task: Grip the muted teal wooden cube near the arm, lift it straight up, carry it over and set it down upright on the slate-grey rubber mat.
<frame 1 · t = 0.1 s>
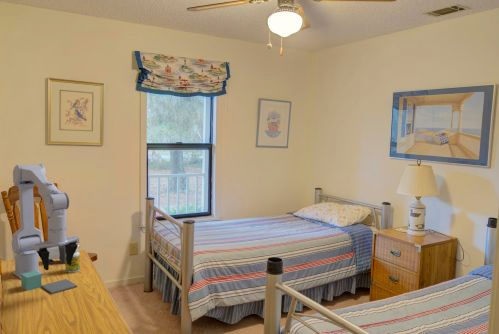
hand: (57, 266, 137), 10 cm above the table, tool pointing down, fingers open, 7 cm apart
giant panda: (60, 262, 171), on the table
supplement bottle: (72, 271, 161), on the table
teal cube: (31, 287, 144), on the table
slate mat: (59, 287, 145), on the table
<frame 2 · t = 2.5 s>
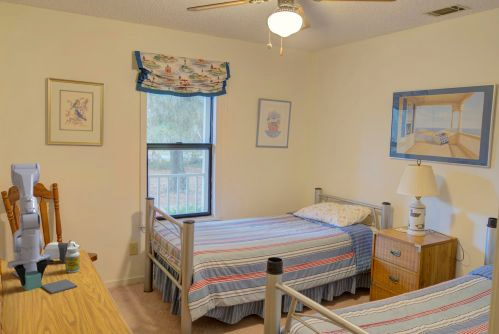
hand: (31, 282, 144), 2 cm above the table, tool pointing down, fingers closed on teal cube, 5 cm apart
teal cube: (31, 287, 144), on the table, touching gripper
everything else where it was.
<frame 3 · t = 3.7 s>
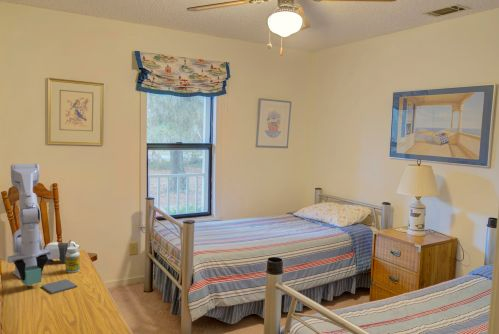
hand: (31, 277, 144), 4 cm above the table, tool pointing down, fingers closed on teal cube, 5 cm apart
teal cube: (31, 281, 144), point 2 cm above the table, touching gripper
everything else where it was.
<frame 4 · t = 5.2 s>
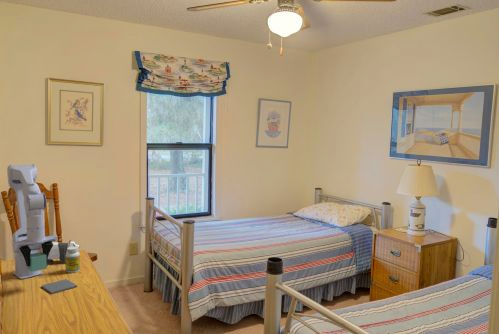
hand: (36, 264, 143), 9 cm above the table, tool pointing down, fingers closed on teal cube, 5 cm apart
teal cube: (36, 268, 143), point 7 cm above the table, touching gripper
everything else where it was.
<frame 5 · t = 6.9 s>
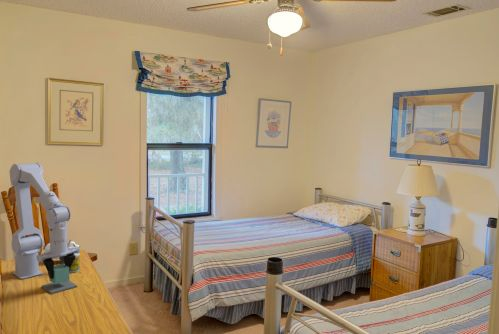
hand: (59, 276, 144), 4 cm above the table, tool pointing down, fingers closed on teal cube, 5 cm apart
teal cube: (59, 280, 144), point 2 cm above the table, touching gripper
everything else where it was.
when the fingers open (3 cm above the table, at t = 8.0 s): teal cube drops 1 cm, resting on slate mat.
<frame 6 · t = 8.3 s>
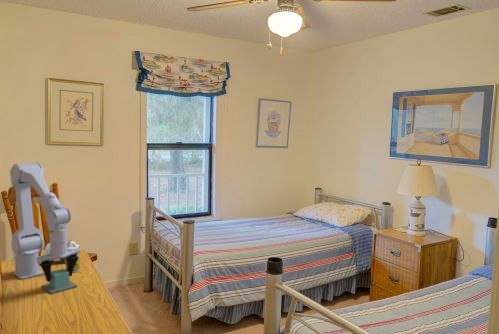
hand: (59, 278, 144), 3 cm above the table, tool pointing down, fingers open, 7 cm apart
teal cube: (59, 285, 145), point 1 cm above the table, touching slate mat
everything else where it was.
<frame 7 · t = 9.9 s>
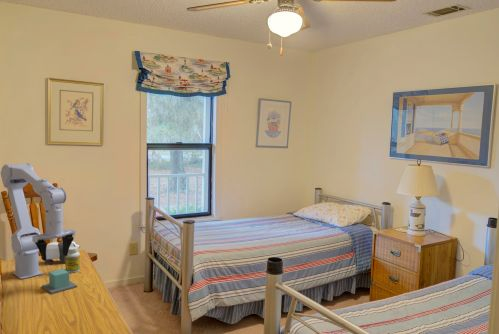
hand: (54, 257, 146), 10 cm above the table, tool pointing down, fingers open, 7 cm apart
nothing on the table moved.
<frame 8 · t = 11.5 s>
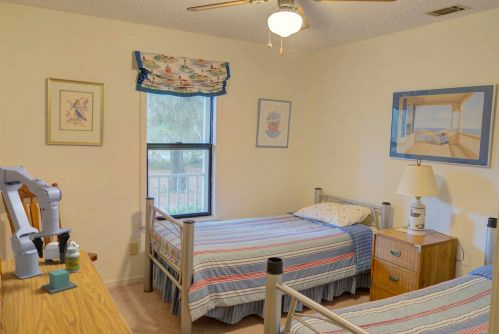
hand: (51, 255, 148), 10 cm above the table, tool pointing down, fingers open, 7 cm apart
nothing on the table moved.
at the end: teal cube 0.0 cm off-centre on the slate mat, point 0.6 cm above the slate mat's base; teal cube tilted 0°; the gripper is holding nothing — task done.
